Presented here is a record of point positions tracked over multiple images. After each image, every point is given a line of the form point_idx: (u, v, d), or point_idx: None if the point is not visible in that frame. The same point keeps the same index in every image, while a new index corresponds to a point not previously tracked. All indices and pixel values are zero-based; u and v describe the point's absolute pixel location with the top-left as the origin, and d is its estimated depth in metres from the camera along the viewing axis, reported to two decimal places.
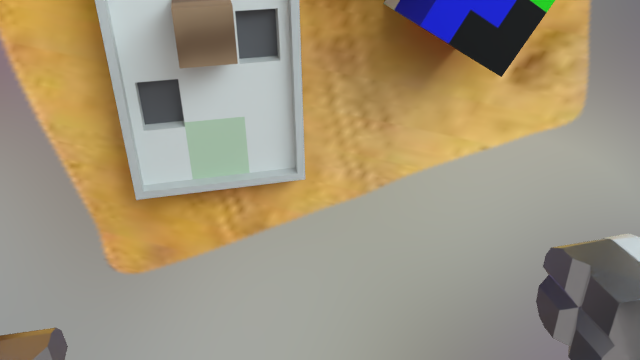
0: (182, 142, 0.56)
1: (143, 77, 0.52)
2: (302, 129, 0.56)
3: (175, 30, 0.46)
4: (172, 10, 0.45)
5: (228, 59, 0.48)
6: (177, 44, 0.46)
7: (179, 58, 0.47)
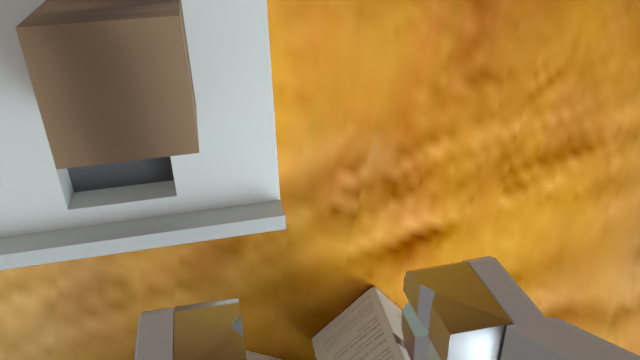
0: None
1: None
2: None
3: (124, 23, 0.18)
4: (175, 19, 0.18)
5: (64, 148, 0.19)
6: (86, 25, 0.17)
7: (45, 28, 0.17)
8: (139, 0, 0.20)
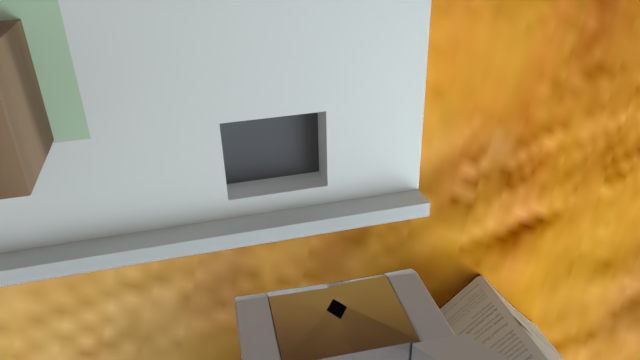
0: None
1: None
2: (81, 271, 0.25)
3: None
4: None
5: None
6: None
7: None
8: None
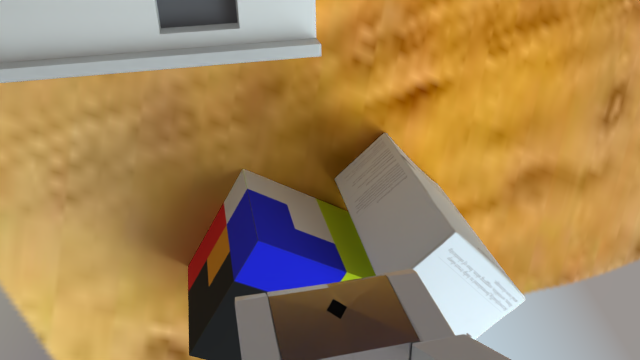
0: None
1: None
2: (43, 77, 0.33)
3: None
4: None
5: None
6: None
7: None
8: None
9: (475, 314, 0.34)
